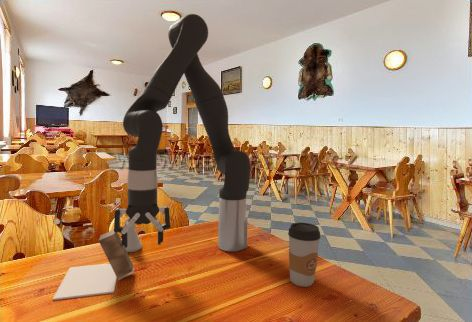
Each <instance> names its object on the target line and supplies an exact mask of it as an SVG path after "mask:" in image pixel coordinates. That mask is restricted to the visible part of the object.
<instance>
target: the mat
mask: <svg viewBox="0 0 472 322" xmlns="http://www.w3.org/2000/svg"><path fill="white" fill-rule="evenodd" d="M117 280H118V279H117V277H116V275H115V273H114V271H113V269H112V267H111V265H110V263H109V262H108V263H102V264H90V265H81V266H80V265H79V266H71V267H69V269H68V270H67V272H66V274H65V276H64V277H63V279H62V281H61V283H60V284H59V287H58V288H57V290H56V291H55V293H54V295H53V298H52V301H57V300H66V299H74V298H83V297H90V296H98V295H104V294H106V295H107V294H113V293H115V289H116V286H117V285H116V283H117Z"/></svg>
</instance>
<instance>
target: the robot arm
mask: <svg viewBox="0 0 472 322" xmlns="http://www.w3.org/2000/svg"><path fill="white" fill-rule="evenodd" d="M167 36H168V41H169V44H170V46H171V48H172V49H171V51H170V52H169V53H168V54H167V56H166V57H165V58H164V59H163V60H162V62H160V64H159V65H158V67H157V68H156V69H155V71H154V72H153V74H152V76H151V77H150V79H149V80H148V83H147V85H146V86H145V88H144V90H143V92H142V93H141V95H139V96H138V97H137V99H136V100H135V101H134V102H133V103H132V105H130V106H129V108H128V109H127V111H126V113H125V114H124V117H123V120H122V126H123V127H122V128H123V129H124V131H125V133H126V134H127V135H129V137H130V136H131V137H134V138H137V143H136V145H135V146H133V147H131V148H129V150H128V172H127V183H126V185H127V206H126V208H120V207H116V208H115V210H114V222H113V230H114V232H118V234H121V241H122V245H123V246H124V247H125V248H126V247H127V246H128V232H127V231H128V230H129V228H131V226H132V225H133V224H134V223H135V225H137V226H138V225H142V224H144V225H150V223H151V224H152V225H153V226H154V227H155V228H156V229H157V245H158V246H160V245H162V244H161V243H163V241H164V231H165V230H169V229H170V228H171V216H170V207H169V205H164V206H162V207H161V206H160V207H159V205H158V185H159V184H158V173H157V172H158V171H157V153H158V150H159V147H160V142H161V138H162V134H163V129H164V128H163V121H162V118H161V116H160V114H159V113H158V112H160V111H162V110H165V109H166V108H167V106H168V105H169V102H170V101H171V99H172V97H173V95H174V93H175V92H176V89H177V87H178V85H179V83H180V81H181V79H182V77H183V75H184V76H185V77H184V78H186V79H185V80H186V82H187V85H188V87H189V90H190V91H191V95H192V97H193V101H194V104H195V106H196V109H197V112H198V114H199V116H200V119H201V122H202V124H203V127H204V130H205V132H206V134H207V137H208V140H209V142H210V143H209V144H210V146H211V150H212V153H213V157H214V161H215V165H216V169H217V170H218V171H219V173H221V175H224V181H223V186H222V187H221V188H220V189H219V190H218V227H217V230H218V231H217V232H218V233H217V234H218V236H217V237H218V238H217V242H218V243H217V244H218V245H217V247H218V249H220V250H221V251H225V252H240V251H242V250H244V249H247V248H248V227H249V226H248V224H249V223H248V220H247V217H246V216H247V193H248V191H249V188H250V179H251V178H250V177H251V161H250V157H249V156H248V154H247V153H246V152H245V151H242V150H238V149H235V146H234V144H233V142H232V138H231V136H230V133H229V132H230V131H229V111H228V110H229V109H228V105H227V102H226V99H225V97H224V93H223V90H222V89H221V86H220V85H219V84H218V82H216V80H215V79H214V78H213V77H212V76H211V75H210V74H209V73H208V72H207V71H206V69H205V68H204V66H203V64H202V62H201V60H200V57H199V53H198V52H200V50H201V49H202V47H203V46H205V43H206V42H207V40H208V37H209V27H208V24H207V23H206V21H205V19H204V18H203V17H201V16H200V15H199V14H196V13H189V14H187V15H184V16H182V17H181V18H180V19H178V20H177V21H176V22H175V21H174V22H173V24H171V25H170V27H169V28H168V34H167ZM159 213H161V215H162V216H164V223H161V222H160V221H159V219H158V218H157V215H158V214H159ZM124 214H126V215H127V216H128V217H127V218H129V220H128V221H127V223H126V222H125V224H124V225H123V226H121V225H120V224H121V218H123V216H124Z"/></svg>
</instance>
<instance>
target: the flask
mask: <svg viewBox="0 0 472 322" xmlns="http://www.w3.org/2000/svg"><path fill="white" fill-rule="evenodd" d="M128 220H129V217H127V218H125V219H124V222H125V224H126V223H127V221H128ZM127 232H128V246H127V247H126V248H125V249H126V251H127V253H133V252H134V253H135V252H137V251H139V250H141V249H142V247H143V244H142V242H141V240H140V238H139V235H138V232H137V229H136V224H135V223H134V224H133V225H132V226H131V228H129V230H128V231H127Z"/></svg>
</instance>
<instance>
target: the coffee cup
mask: <svg viewBox="0 0 472 322" xmlns="http://www.w3.org/2000/svg"><path fill="white" fill-rule="evenodd" d="M287 234H288V259H289V261H288V262H289V264H288V265H289V279H290V282H291V283H292V284H293V285H295V286H297V287H298V286H299V287H301V288H302V287H305V288H306V287H312V285H313V284H314V282H315V278H316V277H315V276H316V271H317V265H318V264H317V263H318V258H319V257H318V256H319V253H318V252H319V246H320V239H321V231H320V228H319V226H317V225H315V224H313V223H308V222H294V223H291V225H290V226H289V228H288V232H287Z"/></svg>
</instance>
